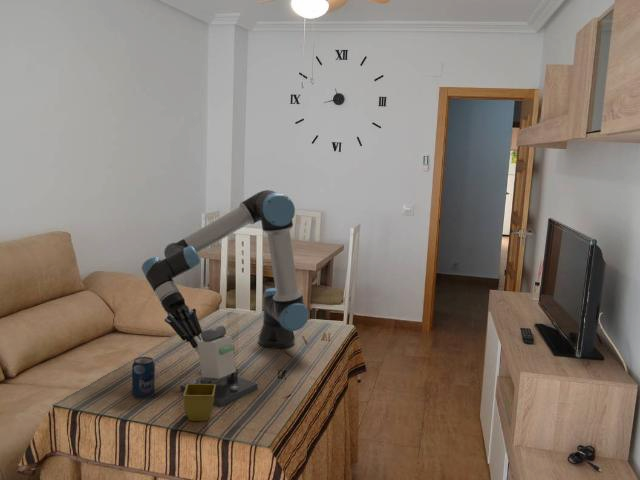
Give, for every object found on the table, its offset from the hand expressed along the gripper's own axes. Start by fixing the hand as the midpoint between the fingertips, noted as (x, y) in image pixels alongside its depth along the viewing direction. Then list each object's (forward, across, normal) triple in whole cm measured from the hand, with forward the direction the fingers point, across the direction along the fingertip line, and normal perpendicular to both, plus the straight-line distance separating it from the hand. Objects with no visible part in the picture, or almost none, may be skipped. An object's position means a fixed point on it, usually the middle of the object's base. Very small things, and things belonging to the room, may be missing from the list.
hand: (203, 354), depth 203 cm
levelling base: (+13, 0, -2) cm, 13 cm away
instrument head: (+11, 0, +1) cm, 11 cm away
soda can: (+2, +19, -13) cm, 23 cm away
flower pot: (+20, +18, +4) cm, 27 cm away
